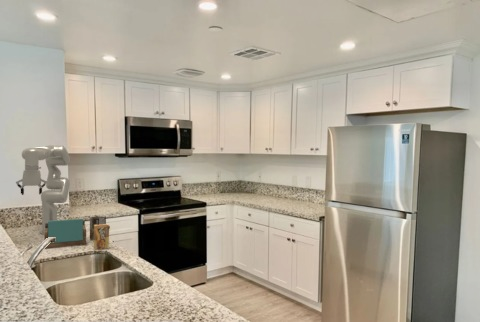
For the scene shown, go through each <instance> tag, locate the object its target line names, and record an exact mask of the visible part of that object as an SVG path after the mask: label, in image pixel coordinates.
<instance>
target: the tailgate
mask: <svg viewBox="0 0 480 322" xmlns="http://www.w3.org/2000/svg"><path fill="white" fill-rule="evenodd" d="M83 221H84V219H83V218H75V219H73V218H72V219H62V220H60V219H59V220H58V219H57V221H48V237H56V241H55V242H54V243H59V242H69V241H80V240H83Z"/></svg>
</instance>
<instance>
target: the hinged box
mask: <svg viewBox="0 0 480 322" xmlns="http://www.w3.org/2000/svg"><path fill="white" fill-rule="evenodd" d="M43 235H44V236H43V237H44V239H43V240H45V239H46V238H48V223H45V233H44V234H43ZM84 245H85V246H86V245H87V228H86V221H85V220H84V219H83V240H80V241H69V242H59V243H50V244H49V245H48V246H47V247H46V248H45V249H44V250H47V249H56V248H66V247H76V246H84Z"/></svg>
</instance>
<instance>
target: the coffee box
mask: <svg viewBox="0 0 480 322" xmlns="http://www.w3.org/2000/svg"><path fill="white" fill-rule="evenodd" d="M100 224H107V217H106V216H98V215H95V216H94V215H93V216H91V217H89V241H91V240H94V225H100Z"/></svg>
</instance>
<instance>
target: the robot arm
mask: <svg viewBox="0 0 480 322" xmlns="http://www.w3.org/2000/svg"><path fill="white" fill-rule="evenodd" d="M21 157H22V159H23V160H24V170H23V172H22V178H21V179H19V180H18V181H15V184H16V186H17V187H18V188H20V194H21V195H22V196H24V195H25V189H24V188H25V186H26V187H30V186H31V187H32V186H33V187H34V186H37V187H38V194H39V195H40V201H41V206H42V208H41V210H42V211H41V219H42V220H41V222H42V224H41V230H40V231H39V234H41V235H44V233H45V223H48V221H57V220H58V216H57V215H58V208H57V206H56V205H55V204H64V203H66V202H67V200H68V196H69V190H70V185H71V183H70V178H68V177H66V176H65V177H62V176H61V175H62V172H61V170H60V168H58V166H60V167H61V166H62V167H63V166H68V165H70V163H71V157H70V155H69V152H68V151H67V148H66V147H65V146H64V145H51V144H50V145H46V146H39V147H38V146H37V147H29V148H24V149H23V150H22V152H21ZM44 160H45V164H46V167H47V170H48V174H47V178H46V180H44V179H42V177H41V176H42V175H41V171H40V169H42V166H40V165H39V164H40V163H39V162H40V161H44ZM20 183H21V184H22V185H21V184H20ZM42 183H43V184H42ZM41 184H42V185H41ZM44 187H46V189H47V190H44V191H43V188H44Z"/></svg>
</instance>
